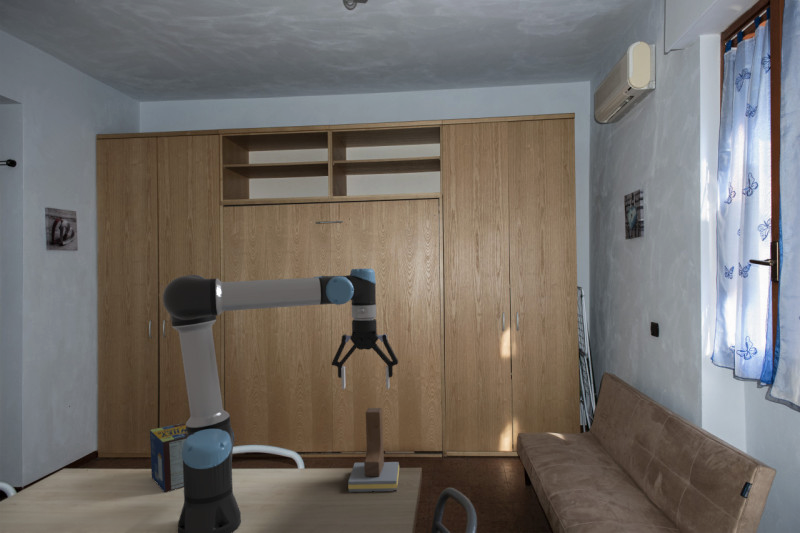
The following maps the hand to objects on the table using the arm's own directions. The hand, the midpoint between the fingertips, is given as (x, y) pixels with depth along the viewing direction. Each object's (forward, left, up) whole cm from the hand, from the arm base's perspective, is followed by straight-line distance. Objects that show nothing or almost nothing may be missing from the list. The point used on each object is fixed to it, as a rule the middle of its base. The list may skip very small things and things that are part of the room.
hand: (365, 388), depth 155 cm
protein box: (-62, +2, -28) cm, 68 cm away
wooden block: (+2, -1, -25) cm, 25 cm away
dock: (+2, -1, -28) cm, 28 cm away
